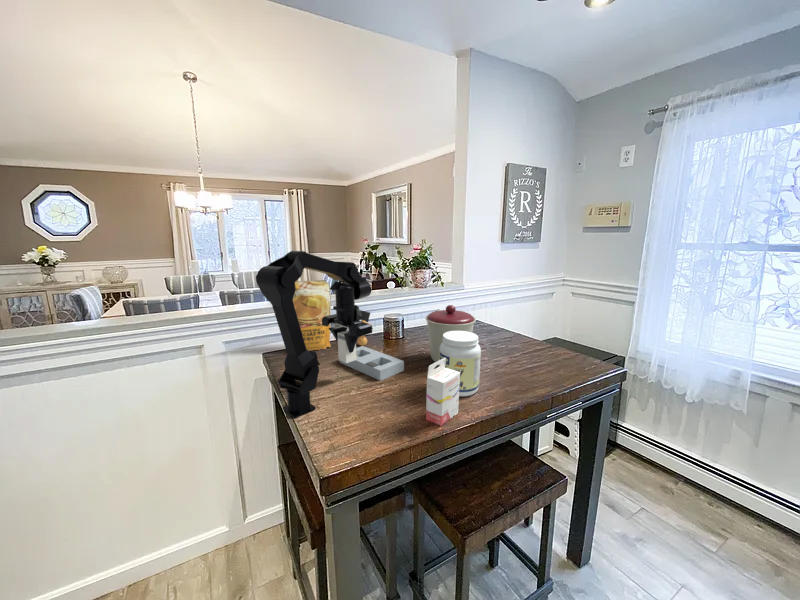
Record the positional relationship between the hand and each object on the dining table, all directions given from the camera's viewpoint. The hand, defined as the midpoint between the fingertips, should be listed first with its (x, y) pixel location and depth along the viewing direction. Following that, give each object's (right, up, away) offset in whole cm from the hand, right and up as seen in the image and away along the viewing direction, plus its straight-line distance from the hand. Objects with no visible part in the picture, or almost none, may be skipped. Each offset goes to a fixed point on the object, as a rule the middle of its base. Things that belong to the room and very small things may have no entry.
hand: (347, 350), depth 105 cm
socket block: (+6, -8, +13) cm, 16 cm away
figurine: (+1, -3, +33) cm, 33 cm away
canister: (+35, -7, +18) cm, 40 cm away
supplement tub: (+35, -11, -4) cm, 37 cm away
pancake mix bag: (-20, -4, +30) cm, 36 cm away
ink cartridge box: (+28, -14, -19) cm, 37 cm away
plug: (0, -3, +1) cm, 3 cm away
